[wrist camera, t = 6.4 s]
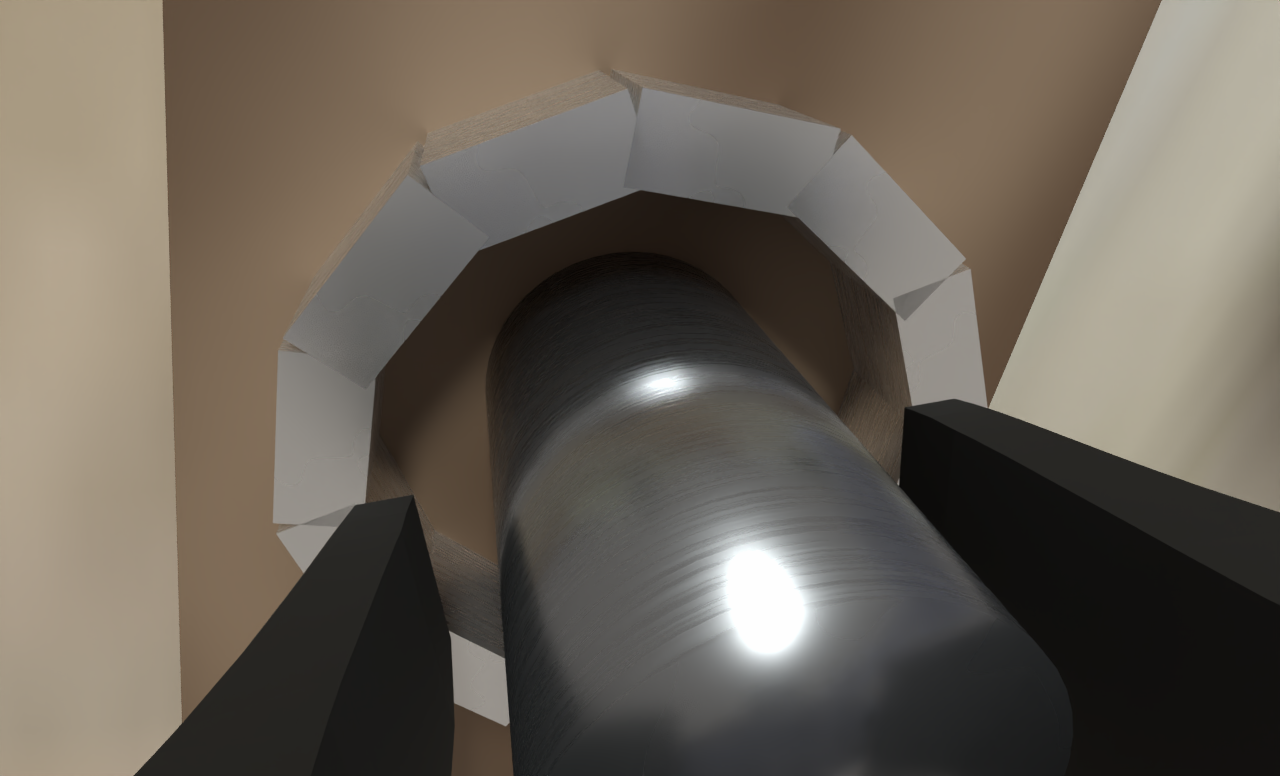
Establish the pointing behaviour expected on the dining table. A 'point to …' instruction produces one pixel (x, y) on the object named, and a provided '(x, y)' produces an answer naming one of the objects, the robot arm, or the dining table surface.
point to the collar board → (575, 240)
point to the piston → (727, 560)
